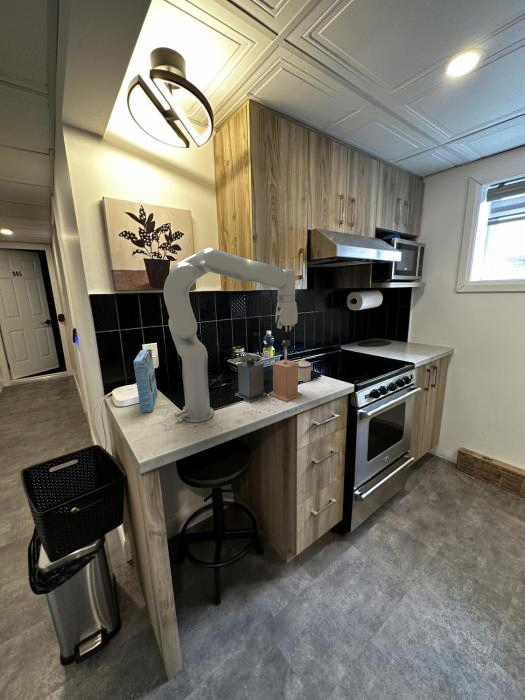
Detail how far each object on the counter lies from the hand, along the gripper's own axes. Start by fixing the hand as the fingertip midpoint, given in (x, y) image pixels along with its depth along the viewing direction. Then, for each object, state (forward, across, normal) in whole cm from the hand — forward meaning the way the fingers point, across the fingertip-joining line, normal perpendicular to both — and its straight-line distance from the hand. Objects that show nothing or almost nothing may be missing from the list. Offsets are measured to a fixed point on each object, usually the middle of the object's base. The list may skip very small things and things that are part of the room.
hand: (286, 339), depth 123 cm
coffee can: (+28, -1, +24) cm, 37 cm away
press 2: (+27, 0, 0) cm, 27 cm away
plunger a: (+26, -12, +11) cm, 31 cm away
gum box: (+27, -50, +38) cm, 69 cm away
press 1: (+27, -12, +11) cm, 32 cm away
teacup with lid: (+28, +23, +9) cm, 37 cm away
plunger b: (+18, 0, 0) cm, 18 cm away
